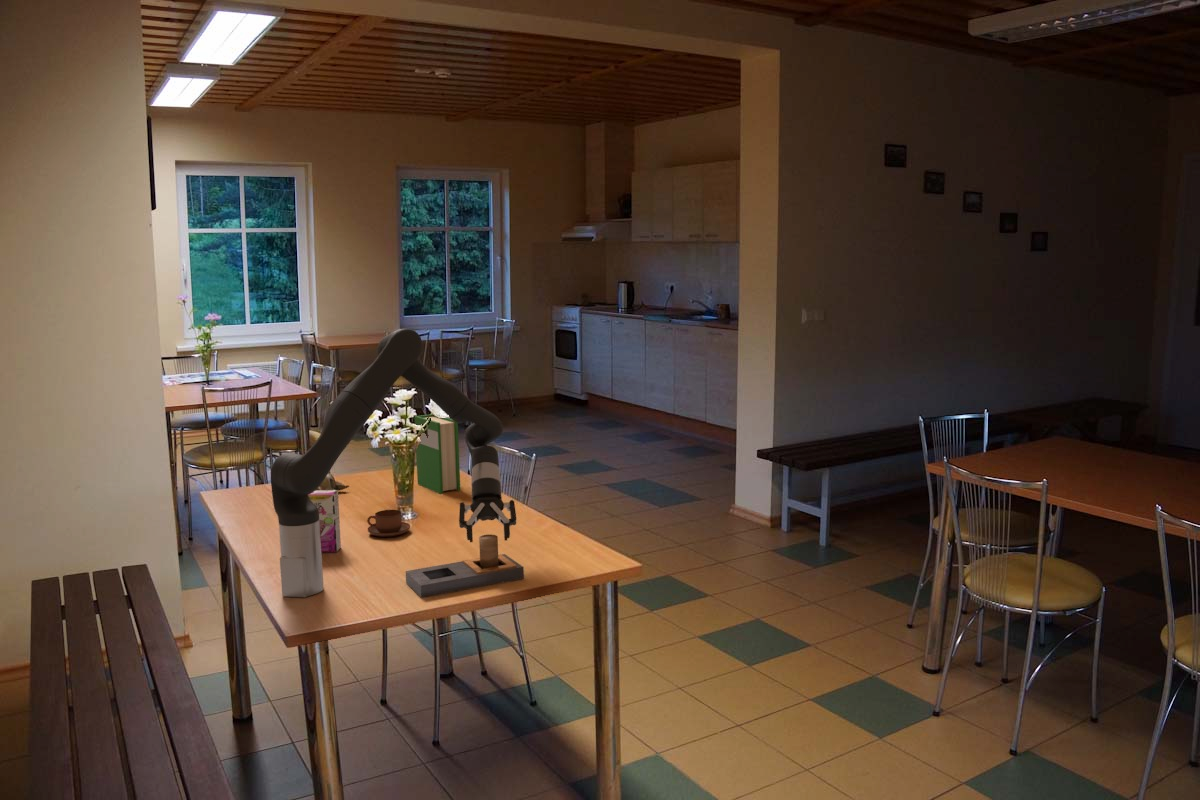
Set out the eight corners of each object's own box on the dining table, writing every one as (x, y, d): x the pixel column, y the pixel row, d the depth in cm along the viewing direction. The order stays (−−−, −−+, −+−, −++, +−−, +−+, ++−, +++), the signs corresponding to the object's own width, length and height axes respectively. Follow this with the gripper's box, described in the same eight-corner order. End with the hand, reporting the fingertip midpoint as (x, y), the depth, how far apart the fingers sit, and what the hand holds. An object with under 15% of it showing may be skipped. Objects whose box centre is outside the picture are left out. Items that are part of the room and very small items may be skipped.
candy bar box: (295, 554, 260) (291, 494, 258) (300, 548, 265) (296, 490, 263) (337, 553, 261) (333, 493, 258) (341, 547, 266) (338, 489, 263)
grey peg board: (421, 597, 225) (420, 583, 225) (406, 582, 236) (405, 569, 235) (523, 578, 237) (523, 565, 237) (505, 565, 248) (504, 552, 247)
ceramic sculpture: (315, 463, 333) (350, 469, 327) (316, 487, 335) (350, 494, 328) (293, 469, 324) (328, 476, 317) (294, 494, 325) (329, 501, 319)
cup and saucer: (368, 541, 271) (367, 520, 270) (367, 530, 283) (365, 509, 282) (412, 537, 274) (411, 516, 273) (408, 526, 286) (407, 506, 285)
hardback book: (460, 490, 327) (457, 420, 324) (440, 493, 323) (437, 423, 319) (437, 481, 341) (434, 414, 338) (417, 484, 337) (414, 416, 334)
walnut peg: (495, 579, 237) (494, 540, 236) (478, 578, 238) (476, 539, 237) (501, 573, 241) (499, 534, 240) (484, 572, 242) (482, 534, 241)
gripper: (457, 477, 245) (459, 534, 236) (514, 475, 247) (517, 531, 238) (458, 493, 251) (460, 548, 242) (513, 490, 253) (517, 545, 244)
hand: (488, 540), depth 240 cm, fingers open, 8 cm apart
